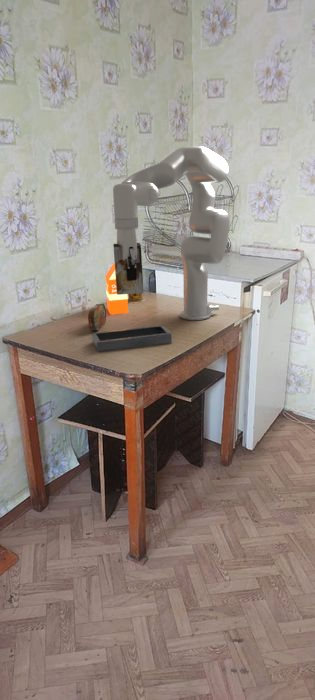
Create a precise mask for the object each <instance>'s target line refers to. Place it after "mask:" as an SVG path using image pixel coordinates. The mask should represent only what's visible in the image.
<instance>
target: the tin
mask: <svg viewBox="0 0 315 700" xmlns="http://www.w3.org/2000/svg"><path fill="white" fill-rule="evenodd" d="M106 309H107V308H106V306H105V304H104V303H97V304H95V305H94V306H93V307H91V308H90V310H89V311H88V316H87V320H88V325H89V326H88V328H89V329H90V331H95V332H100V330H101V329H102V327H104V326H105V324H106V321H107V310H106Z"/></svg>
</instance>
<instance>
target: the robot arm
mask: <svg viewBox="0 0 315 700" xmlns="http://www.w3.org/2000/svg"><path fill="white" fill-rule="evenodd" d="M184 176H186V178H187V180H188V182H189V184H190V186H191V187H190V188H191V190H192V194H193V195H192V202H191V210H190V216H189V219H188V220H189V221H188V224H189V225H188V227H189V229H190V231H191V232H193V233H195V234H201V235H210V237H205V236H203V237H201V236H189V237H186V238H185V239H183V240H182V242H181V244H180V257H181V260H182V269H183V310H182V311H181V312H179V317H180V318H181V319H184V320H189V321H203V320H207V319H210V318H211V316H212V311H218V310H219V308H220V307H219V305H218V304H217V305H214V304H208V282H209V281H208V277H209V275H208V269H207V266H206V264H208V265H217V264H220V263H221V262H222V261H223V260H224V257H225V255H226V254H225V253H226V249H227V243H228V239H229V231H230V223H231V221H230V216H229V214H228V212H227V211H225V210H224V209H221V208H215V203H216V193H215V190H214V188H213V186H212V185H211V184H212V183H222V182H224V181H225V180H226V179H227V178H228V176H229V165H228V163H227V161H226V160H225V158H223V157H222V156H220V155H219V154H218V153H216V152H214V151H212V150H211V149H209V148H207V147H206V146H183V147H179V148H177V149H175V150H174V151H173V152H171V154H169V155H168V156H167V157H165V158H164V159H163V160H161V161H160V162H159V163H156V164H153V165H151V166H148V167H146V168H144V169H141V170H139V171H137V172H135V173H133V174H131V175H130V176H128V177H127V178H125V179H124V180H123V181H122V182H121V183H116V184H115V185H114V186H113V188H112V193H113V194H112V198H113V214H114V215H113V217H114V230H116V244H118V245H119V246H121V257H122V260H123V261H125V259H126V262H127V269H126V271H127V280H128V281H133V280H137V273H136V262H135V261H136V259H137V243H138V242H137V232H136V231H137V229H139V213H138V207H143V206H144V207H148V206H152V205H154V204H156V203H157V201H158V199H159V196H160V193H159V190H160V189H165V188H168V187H171V186H173V185H174V184H175V183H177V182H178V181H179V180H180V179H182V178H183V177H184ZM135 256H136V258H135ZM128 257H131V259H128Z"/></svg>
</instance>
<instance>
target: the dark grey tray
mask: <svg viewBox="0 0 315 700" xmlns="http://www.w3.org/2000/svg"><path fill="white" fill-rule="evenodd" d="M91 339H92V341H91V342H92V345H93V346H94V348H95V350H96V351H97V353H104V352H110V351H119V350H128V349H136V348H143V347H152V346H159V345H167V344H172V342H173V341H172V333H171V332H170V331H169V329H167V328H166V327H165V326H164V325H163V324H161V325H160V324H158V325H152V326H142V327H134V328H125V329H116V330H108V331H96V332H92V333H91Z"/></svg>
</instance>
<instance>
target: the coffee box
mask: <svg viewBox="0 0 315 700" xmlns="http://www.w3.org/2000/svg"><path fill="white" fill-rule="evenodd" d="M113 256H114V257H113V258H114V259H113V260H114V263H115V276H116V290H117V295H121V294H128V295H129V294H138V293H142V294H144V293H145V291H144V279H143V278H144V277H143V276H144V275H143V274H144V273H143V260H142V259H143V258H142V245H141V243H140V242H137V259H136V261H135V262H136V273H137V280H133V281H128V280H127V271H126V269H127V262H126V259H125V261H123V260H122V257H121V246H119V245H118V244H117V243H113ZM135 258H136V256H135ZM128 259H131V257H128Z"/></svg>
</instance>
